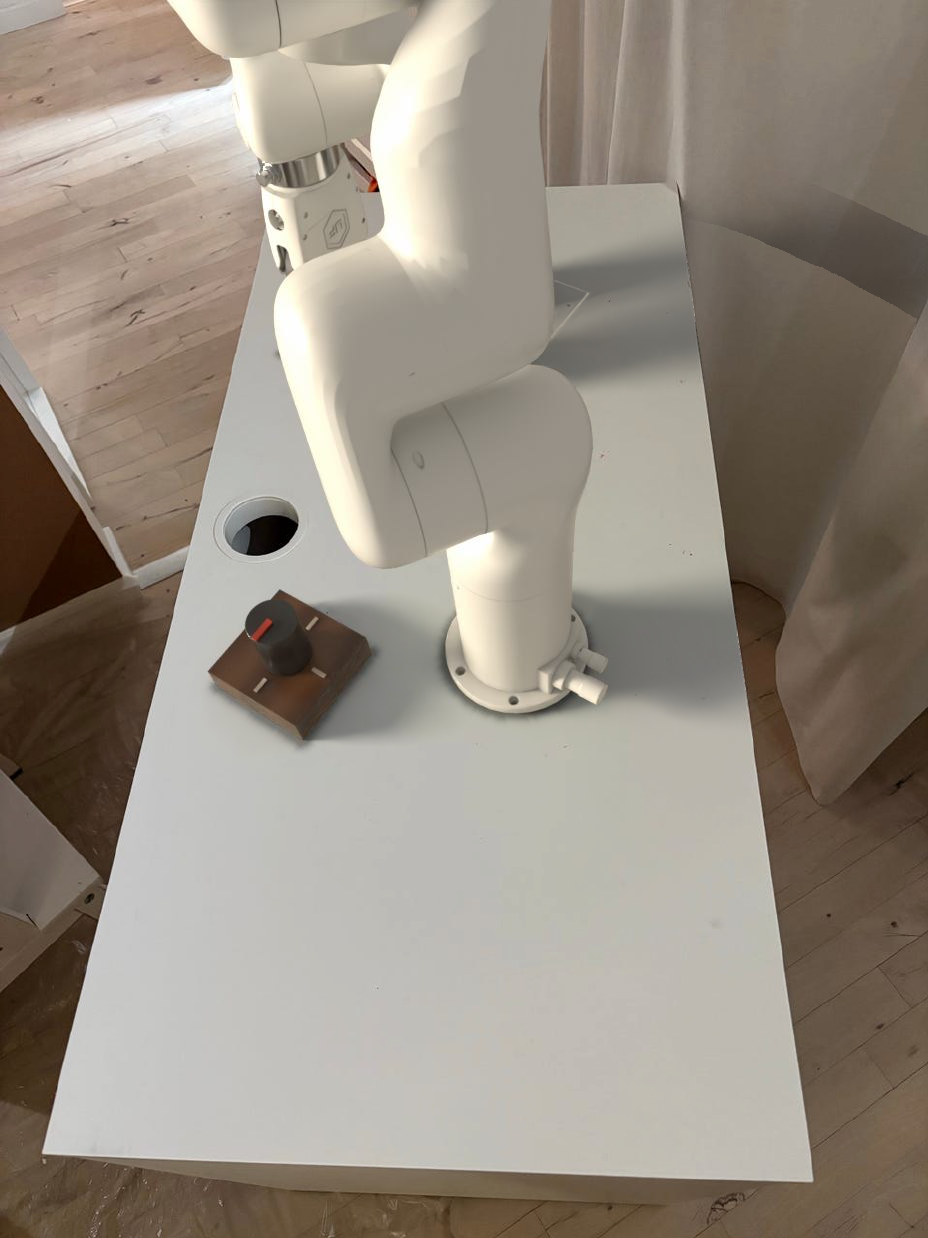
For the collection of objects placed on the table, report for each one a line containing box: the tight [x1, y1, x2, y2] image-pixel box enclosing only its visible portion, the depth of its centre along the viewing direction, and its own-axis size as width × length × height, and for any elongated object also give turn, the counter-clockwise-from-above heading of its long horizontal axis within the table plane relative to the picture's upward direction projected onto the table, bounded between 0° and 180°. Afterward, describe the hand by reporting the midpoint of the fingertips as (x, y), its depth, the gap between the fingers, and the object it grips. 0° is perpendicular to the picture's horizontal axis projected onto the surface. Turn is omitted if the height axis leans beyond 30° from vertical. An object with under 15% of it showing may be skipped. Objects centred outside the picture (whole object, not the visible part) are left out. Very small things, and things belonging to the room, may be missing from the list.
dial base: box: [207, 589, 372, 741], centre depth 84 cm, size 10×10×3 cm
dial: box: [244, 598, 312, 676], centre depth 80 cm, size 4×4×6 cm
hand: (336, 310), depth 104 cm, fingers closed
